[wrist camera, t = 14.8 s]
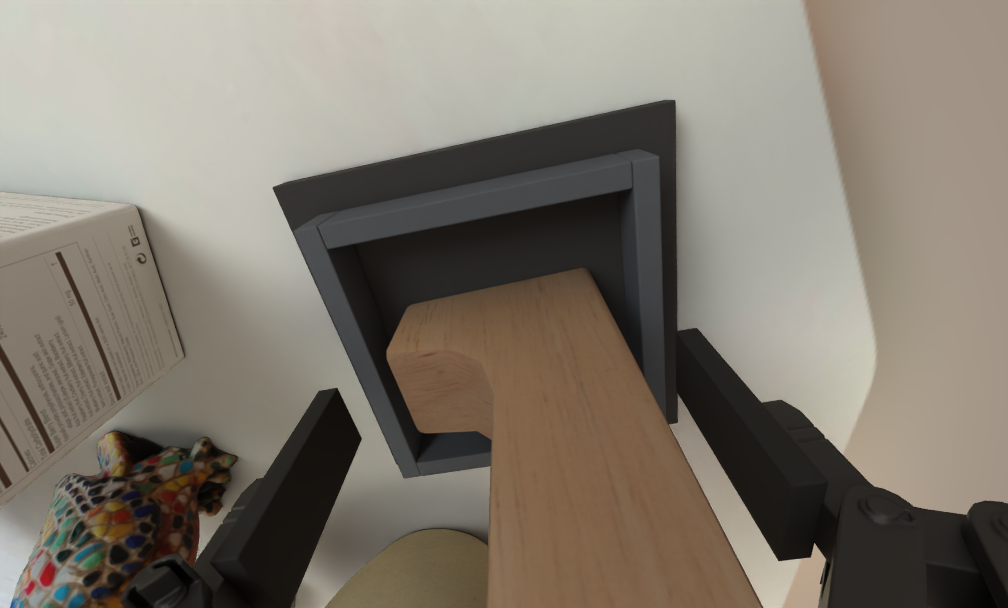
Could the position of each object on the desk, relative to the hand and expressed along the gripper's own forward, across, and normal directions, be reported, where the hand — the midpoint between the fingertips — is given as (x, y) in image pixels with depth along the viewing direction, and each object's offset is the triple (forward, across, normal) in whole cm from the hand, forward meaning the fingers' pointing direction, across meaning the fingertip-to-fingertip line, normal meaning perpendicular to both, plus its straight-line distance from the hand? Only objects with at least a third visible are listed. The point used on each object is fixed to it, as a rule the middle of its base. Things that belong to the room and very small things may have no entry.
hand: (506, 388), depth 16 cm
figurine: (+7, -23, -7) cm, 25 cm away
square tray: (+6, 0, 0) cm, 6 cm away
